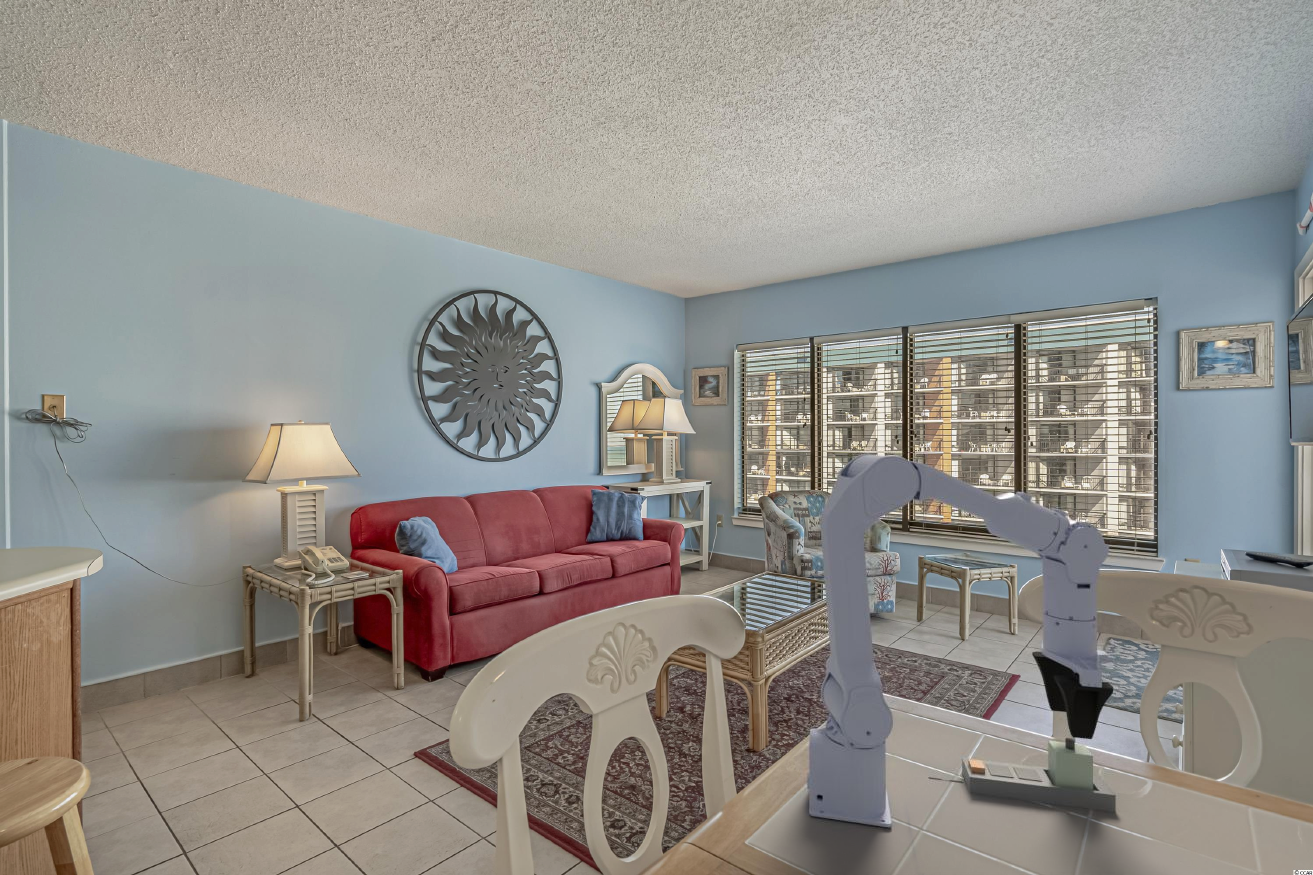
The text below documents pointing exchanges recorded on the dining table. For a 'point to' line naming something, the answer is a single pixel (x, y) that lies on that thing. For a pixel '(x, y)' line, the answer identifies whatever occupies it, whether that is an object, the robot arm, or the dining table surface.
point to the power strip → (1032, 785)
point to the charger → (1070, 764)
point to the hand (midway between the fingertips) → (1070, 723)
